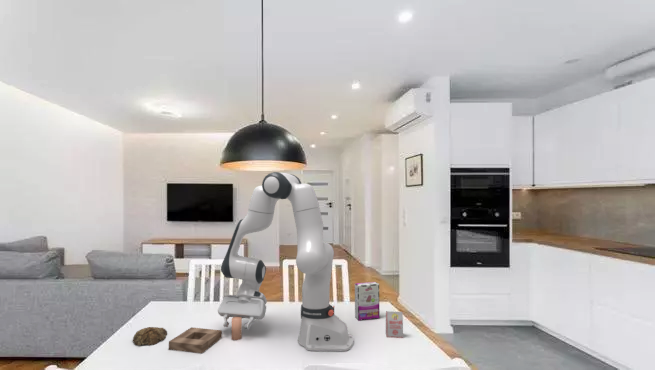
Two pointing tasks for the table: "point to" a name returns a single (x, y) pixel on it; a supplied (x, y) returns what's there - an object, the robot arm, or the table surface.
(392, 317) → the white red box
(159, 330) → the bread roll
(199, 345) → the pin board
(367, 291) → the candy bar box
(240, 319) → the pin
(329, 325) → the robot arm
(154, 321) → the table surface
